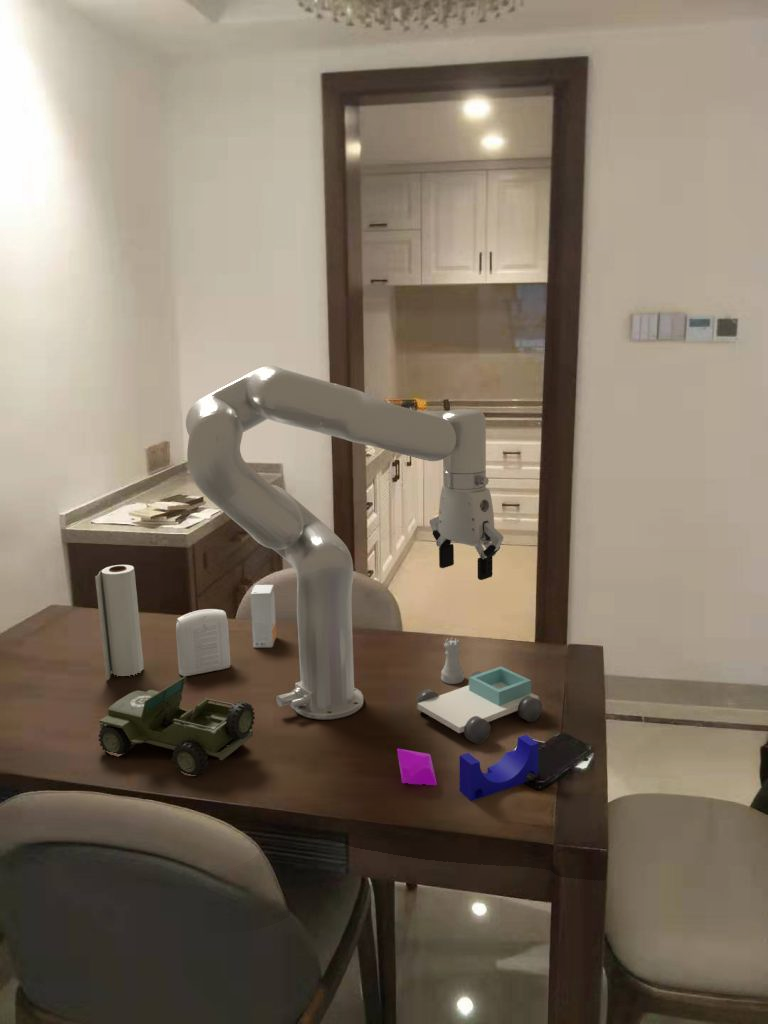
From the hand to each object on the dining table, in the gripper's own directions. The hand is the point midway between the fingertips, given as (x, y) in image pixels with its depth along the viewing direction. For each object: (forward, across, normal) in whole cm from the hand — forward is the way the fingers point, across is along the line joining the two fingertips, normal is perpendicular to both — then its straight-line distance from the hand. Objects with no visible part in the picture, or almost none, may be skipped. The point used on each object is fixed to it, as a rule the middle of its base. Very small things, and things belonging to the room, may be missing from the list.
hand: (465, 572), depth 159 cm
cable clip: (+22, -27, +22) cm, 41 cm away
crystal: (+22, -19, +30) cm, 41 cm away
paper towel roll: (+22, +50, +45) cm, 70 cm away
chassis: (+22, -11, +8) cm, 26 cm away
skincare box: (+22, +43, +17) cm, 51 cm away
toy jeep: (+22, +14, +52) cm, 58 cm away
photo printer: (+22, +40, +33) cm, 56 cm away
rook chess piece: (+22, +3, +1) cm, 22 cm away
